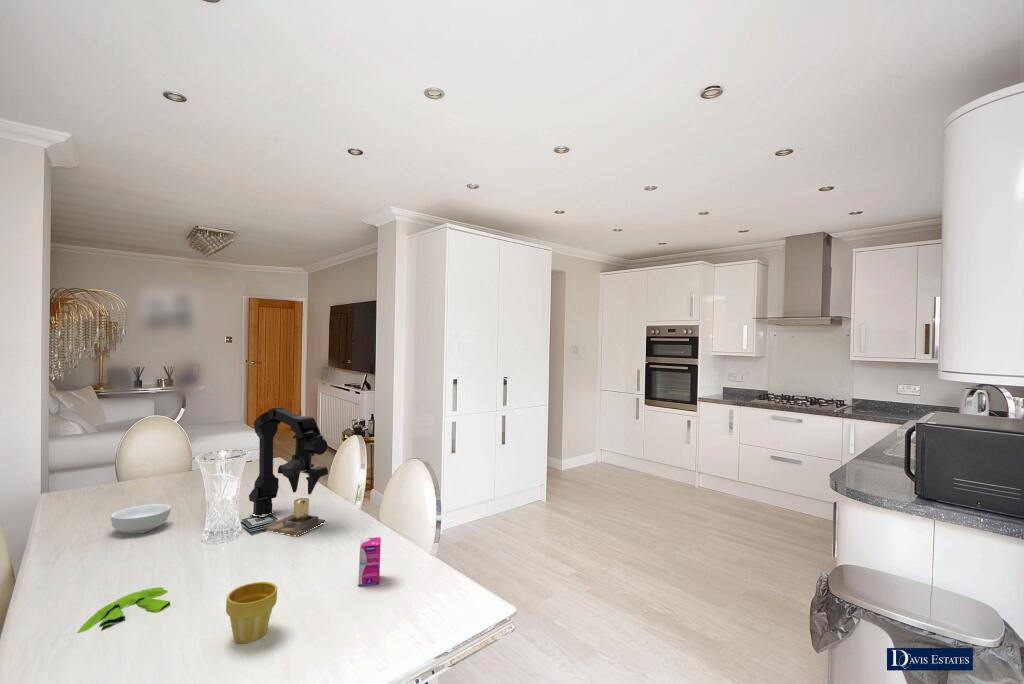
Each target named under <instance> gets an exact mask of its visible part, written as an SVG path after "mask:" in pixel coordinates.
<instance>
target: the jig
mask: <svg viewBox="0 0 1024 684" xmlns="http://www.w3.org/2000/svg"><path fill="white" fill-rule="evenodd" d="M324 522H325V523H326V520H325V519H322V518H320V517H319V516H316V515H311V514H308V520H307V521H305V522H303V523H299V522H294V514H289V515H287V516H285V517H283V518H281V519H280V518H279V520H276V521H273V522H271V523H268V524H266V525H263V526H262V529H263V528H265V529H267V530H269V531H273V532H278V533H284V534H290V535H296V536H298V535H300V534H302V533H304V532H306V531H308V530H310V529H312V528H314V527H316V526H318V525H320V524H321V523H324Z"/></svg>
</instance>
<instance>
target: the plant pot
mask: <svg viewBox="0 0 1024 684" xmlns="http://www.w3.org/2000/svg"><path fill="white" fill-rule="evenodd" d="M277 599H278V586H277V585H276V584H275V583H273V582H269V581H255V582H250V583H245V584H243V585H240V586H237V587H235V588H234V589H232V590H231V591H230V592H229V593H228V594H227V595H226V601H225V602H226V604H225V612H226V615H228V617H229V621H230V626H231V632H232V637H233V640H234V641H235V642H236V643H238V644H246V643H247V644H249V643H252V642H255V641H258V640H259V639H261V638H262V637H264V636H265V635H266V634H267V630H268V627H269V622H270V619H271V614H272V611H273V608H274V607H275V605H276V604H277Z"/></svg>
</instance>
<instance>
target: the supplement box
mask: <svg viewBox="0 0 1024 684" xmlns="http://www.w3.org/2000/svg"><path fill="white" fill-rule="evenodd" d="M381 538H382V537H381V536H377V537H376V536H375V537H366V538H365V537H364V538H360V541H359V542H360V544H359V561H358V562H359V563H358V564H359V565H358V580H357V581H358V587H363V586H371V585H372V586H373V585H379V584H380V574H381V572H380V568H381V543H382V542H381V541H382V539H381Z"/></svg>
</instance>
